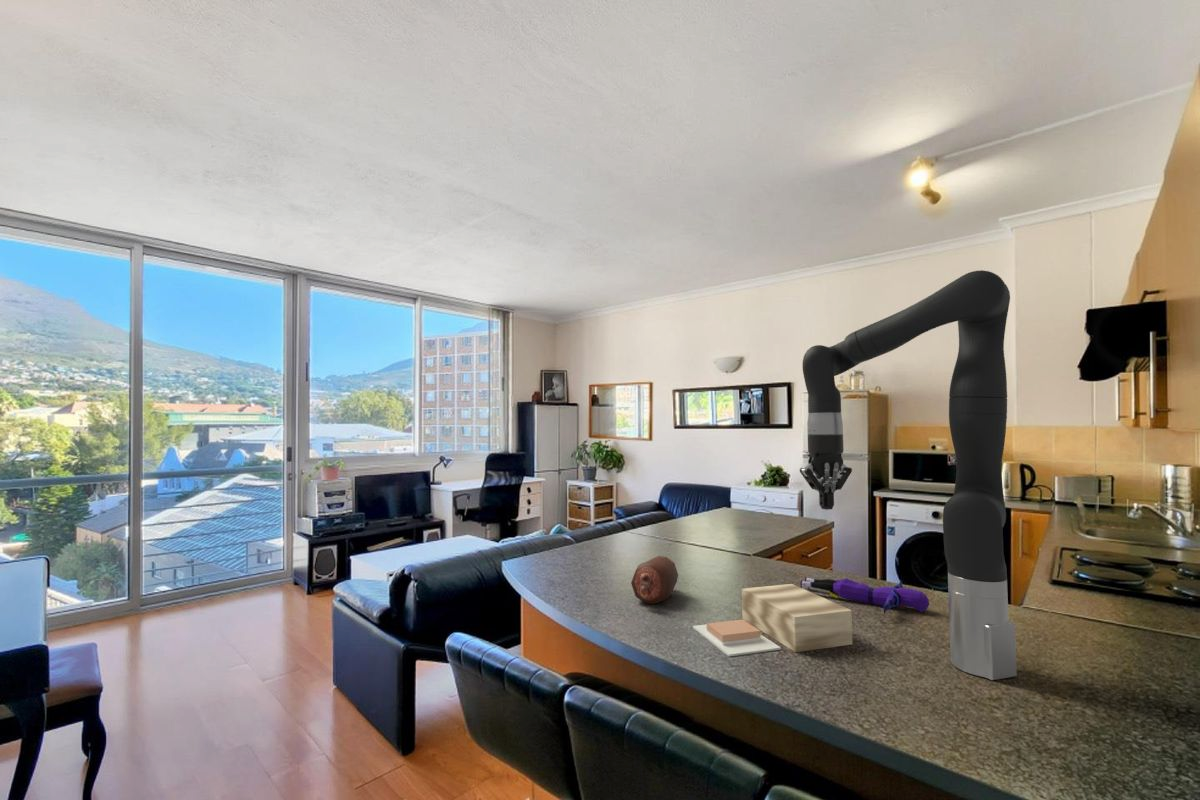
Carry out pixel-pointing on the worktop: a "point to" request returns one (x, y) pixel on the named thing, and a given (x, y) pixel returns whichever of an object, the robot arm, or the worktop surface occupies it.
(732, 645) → the mat
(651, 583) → the meat
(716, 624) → the tile
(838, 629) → the block
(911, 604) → the toy
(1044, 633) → the worktop surface
